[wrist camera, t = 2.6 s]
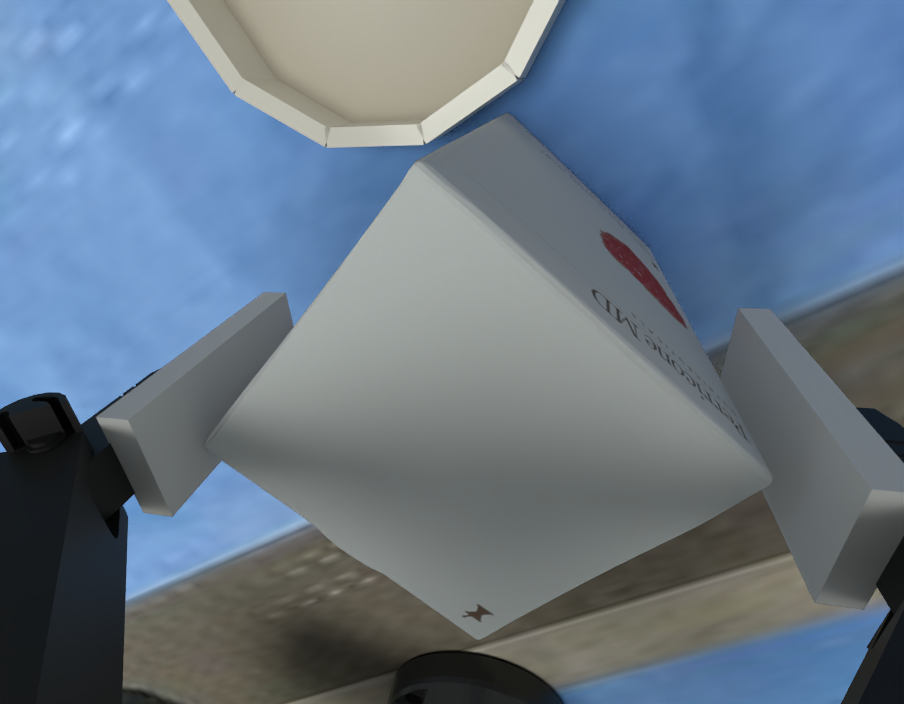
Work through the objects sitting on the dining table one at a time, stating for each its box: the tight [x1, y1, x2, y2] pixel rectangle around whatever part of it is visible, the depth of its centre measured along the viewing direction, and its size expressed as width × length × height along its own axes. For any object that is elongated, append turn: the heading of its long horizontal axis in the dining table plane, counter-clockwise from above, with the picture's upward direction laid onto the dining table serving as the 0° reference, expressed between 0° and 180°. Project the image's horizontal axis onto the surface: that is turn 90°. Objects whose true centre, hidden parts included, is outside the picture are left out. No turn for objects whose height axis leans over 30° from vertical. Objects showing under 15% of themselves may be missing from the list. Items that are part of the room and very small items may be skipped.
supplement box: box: [205, 113, 773, 640], centre depth 17 cm, size 9×9×15 cm
